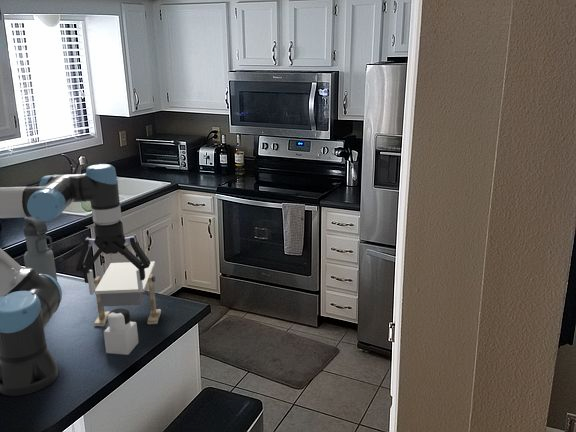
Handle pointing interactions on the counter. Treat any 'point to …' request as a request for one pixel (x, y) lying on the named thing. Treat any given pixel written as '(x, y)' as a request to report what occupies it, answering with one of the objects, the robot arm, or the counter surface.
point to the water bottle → (38, 248)
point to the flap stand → (103, 315)
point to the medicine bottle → (120, 333)
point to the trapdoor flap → (122, 285)
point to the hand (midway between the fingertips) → (116, 291)
